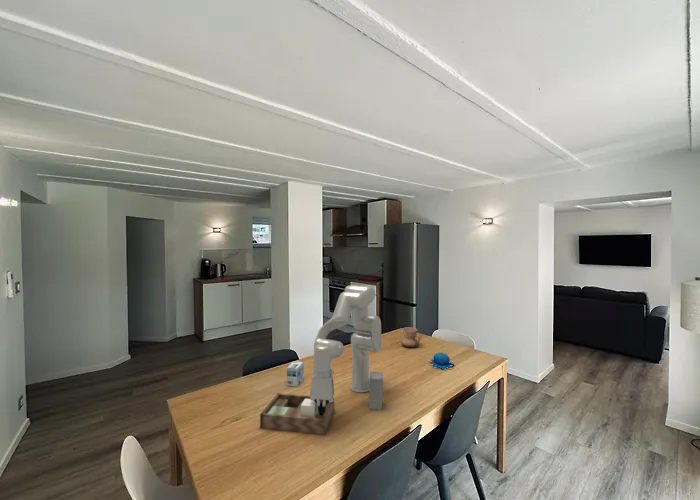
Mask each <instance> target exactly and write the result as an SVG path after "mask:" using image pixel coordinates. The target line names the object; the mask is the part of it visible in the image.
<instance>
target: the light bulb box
mask: <svg viewBox="0 0 700 500" xmlns="http://www.w3.org/2000/svg"><path fill="white" fill-rule="evenodd" d="M304 367H305V364H304V361H296V360H295V361H294V360H293V361H291V363H289V365H288V366H287V367H286V386H287V387H294V388H298V386H299V385H300V384H302V382H304V370H305V369H304Z"/></svg>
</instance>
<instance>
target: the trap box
mask: <svg viewBox="0 0 700 500" xmlns="http://www.w3.org/2000/svg"><path fill="white" fill-rule="evenodd" d="M304 399H310V395H304V394H303V395H302V394H292V393H278V392H277V394H276V395H275V396H274V397H273V398H272V400H271V401H270V402H269V403H268V405H267V406H266V407H265V408H264V409H263V410H262V412H261V413H260V416H259V418H260V419H259V423H260V425H259V426H260V427H259V428H260V429H266V430H267V429H269V430H276V431H278V430H279V431H285V432H286V431H287V432H296V433H306V434H315V435H322V436H323V435H324V436H325V434H326V432H327V430H328V427H329V425H330V422H331V420H332V417H333V414H334V411H335V400H334V401H333V402H330V403H328V404H326V408H325V413H324V414H323V416H322V415H321V416H320V415H319V412H318V413H317V415H316V417H315V418H310V417H301V404H302V403H303V401H304ZM321 403H322V404H323V400H321Z"/></svg>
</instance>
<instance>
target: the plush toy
mask: <svg viewBox="0 0 700 500" xmlns="http://www.w3.org/2000/svg"><path fill="white" fill-rule="evenodd" d="M430 360H431V361H432V362H430V361H429V362H428V364H429V363H430V364H433V365H432V366H433V367H438V368H439V367H440V368H442V369H445V368H446V367H448V368H452V366H450V365H454V366H455V364H454V362H451V361H450V357H449V355H448V354H446V353H444V352H438V353H435V354H434V355H433V359H430ZM449 362H450V363H449ZM440 368H439V369H440ZM448 368H446V369H448ZM442 369H441V370H442Z"/></svg>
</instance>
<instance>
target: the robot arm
mask: <svg viewBox="0 0 700 500" xmlns="http://www.w3.org/2000/svg"><path fill="white" fill-rule="evenodd" d="M375 297H376V290H375V289H374V287H372V286H369V285H354V284H351V285H347V286H345V288H344V291H343V292H341V293H340V295H339V296H338V299H337V301H336V305H335V308H334V312H333V314H332V315H331V316H332V317H331V318H330V319H328V320H327V321H326V322H324V324H323V325H322V326H321V327H320V328H319V330H318V331H317V334H316V337H315V340H314V343H313V374H312V376H311V382H310V389H309V390H310V392H309V396H310V400H312V401H315V402H316V404H317V406H318V412H319V415H320V416H321V415H322V416H323V414H324V413H325V408H326V404H328V403H330V402H333V401H334V402H335V398H334V395H335V386H334V385H335V384H334V377H333V375H334V374H335V373H334V372H335V371H334V370H332V367H331V366H332V365H331V364H332V360H333V359H334V360H335V359H337V358H339V357H341V356H342V355H343V353H344V351H345V347H344V344H343V343H342V342H341V341H340V340H339V341H338V340H334V339H329V338H327V337H328V335H329V334H330V333H331V332H333V330H336V329H339V328H342V327H344V326H347V325H348V324H349V323H350V322H349V321H350V319H351V315H352V320H353V321H352V323H353V328H354V329H355V330H357V332H353V333H352V334H351V337H350V345H351V352H352V353H351V354H352V363H351V364H352V367H351V368H352V369H351V370H352V375H351V376H352V377H351V380H352V381H351V383H349V389H350V391H352V392H354V393H360V394H361V393H369V388H370V356H369V353H368V352H373V353H378V352H379V351H380V350H381V347H382V321H381V318H380V317H379V316H378V315H375V314H369V305H370V304H372V302H374V299H375ZM321 400H323V404H322V403H321Z"/></svg>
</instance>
